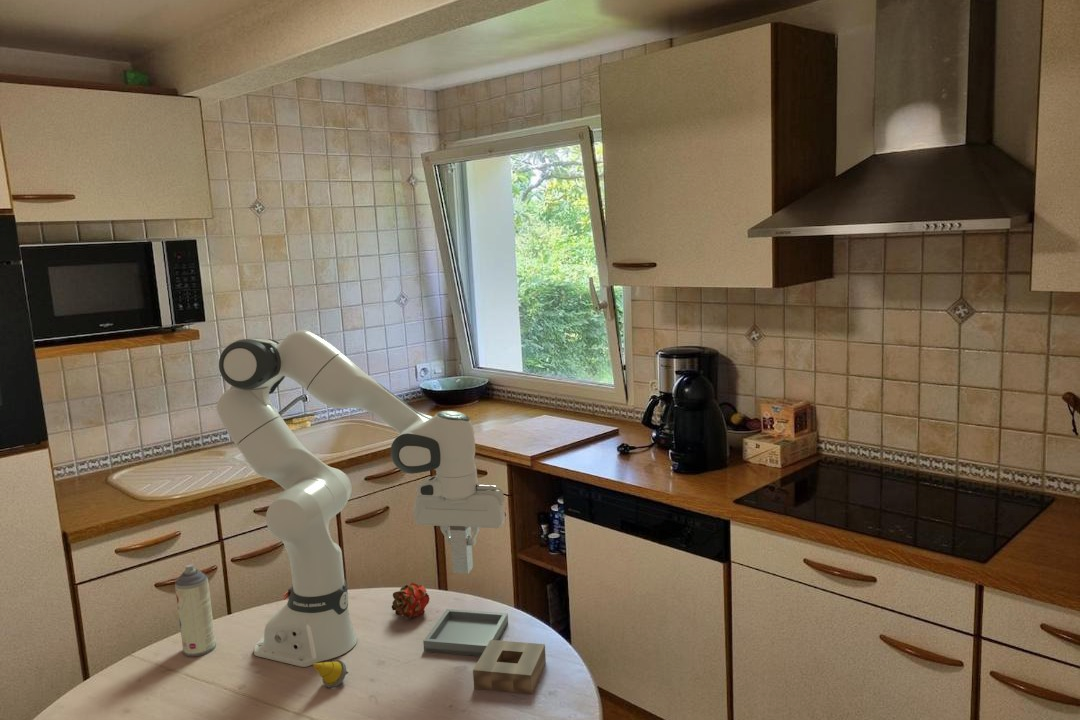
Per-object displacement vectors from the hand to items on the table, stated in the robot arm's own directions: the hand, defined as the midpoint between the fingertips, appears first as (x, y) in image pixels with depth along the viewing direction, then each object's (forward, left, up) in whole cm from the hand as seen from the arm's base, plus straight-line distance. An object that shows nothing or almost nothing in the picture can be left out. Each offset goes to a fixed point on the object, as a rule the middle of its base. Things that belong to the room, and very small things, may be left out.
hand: (461, 544), depth 176 cm
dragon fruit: (-17, +9, -22) cm, 29 cm away
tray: (0, 0, -22) cm, 22 cm away
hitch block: (+14, -13, -22) cm, 29 cm away
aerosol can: (-59, -14, -22) cm, 65 cm away
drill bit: (-21, -23, -22) cm, 39 cm away
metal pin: (0, 0, -6) cm, 6 cm away
